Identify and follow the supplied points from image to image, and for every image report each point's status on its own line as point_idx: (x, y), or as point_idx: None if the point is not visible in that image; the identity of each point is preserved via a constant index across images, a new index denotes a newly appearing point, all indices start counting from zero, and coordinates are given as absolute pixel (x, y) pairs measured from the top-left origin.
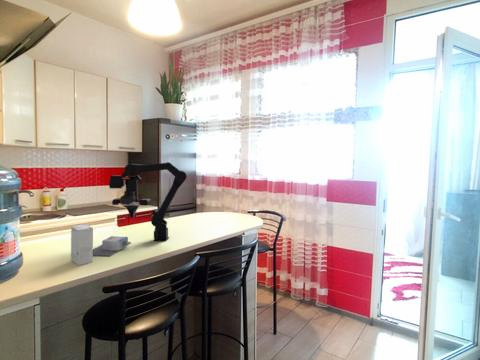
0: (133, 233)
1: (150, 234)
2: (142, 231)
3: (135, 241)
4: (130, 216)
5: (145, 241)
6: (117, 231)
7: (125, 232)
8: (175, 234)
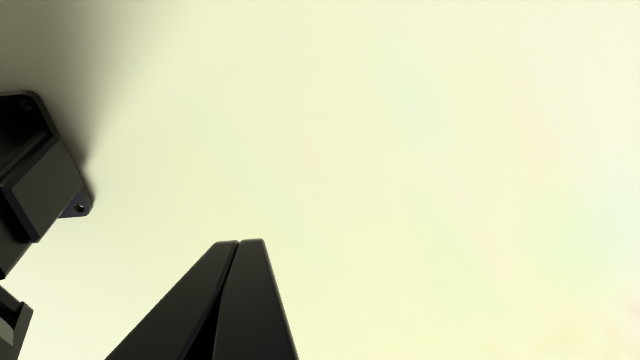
0: (435, 282)
1: None
2: (381, 340)
3: (239, 28)
4: (264, 268)
5: (117, 55)
6: (625, 308)
7: (531, 295)
8: None
